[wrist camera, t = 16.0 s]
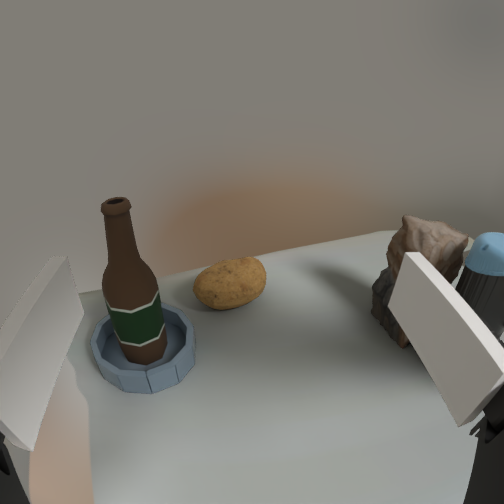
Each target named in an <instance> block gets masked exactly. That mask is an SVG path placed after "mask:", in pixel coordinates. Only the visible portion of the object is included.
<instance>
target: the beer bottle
mask: <svg viewBox="0 0 504 504" xmlns="http://www.w3.org/2000/svg"><path fill="white" fill-rule="evenodd" d="M130 208H131V204H130V202H129V200H128V199H127V198H124V197H115V198H111V199H108V200H106V201H105V202H104V203H102V204H101V212H102V213H103V215H104V221H105V230H106V240H107V247H108V265H107V267H106V269H105V272H104V274H103V280H102V289H103V294H104V298H105V302H106V305H107V309H108V312H109V315H110V319H111V322H112V325H113V328H114V331H115V334H116V337H117V340H118V343H119V345H120V348H121V350H122V352H123V353H124V355H125V357H126V358H127V360H128V362H131V363H135V364H141V365H146V366H147V365H149V364H151V363H153V362H155V361H157V360H160V359H162V357H163V355H164V352H165V350H166V347H167V344H168V342H167V334H166V329H165V323H164V318H163V312H162V307H161V301H160V295H159V289H158V285H157V281H156V277H155V276H154V274H153V272H152V271H151V269H150V268H149V267H148V266H147V264H146V263H145V262H144V261H143V260H142V259H141V258H140V255H139V252H138V250H137V246H136V241H135V237H134V232H133V227H132V222H131V217H130V212H129V210H130Z"/></svg>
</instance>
